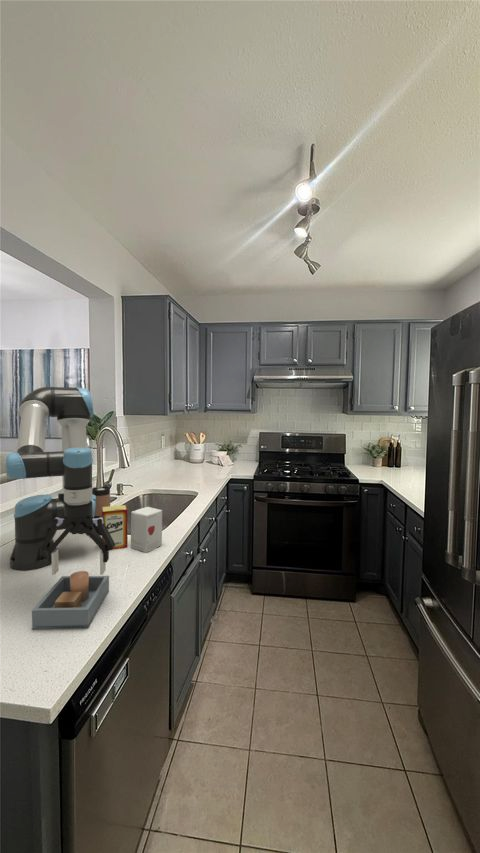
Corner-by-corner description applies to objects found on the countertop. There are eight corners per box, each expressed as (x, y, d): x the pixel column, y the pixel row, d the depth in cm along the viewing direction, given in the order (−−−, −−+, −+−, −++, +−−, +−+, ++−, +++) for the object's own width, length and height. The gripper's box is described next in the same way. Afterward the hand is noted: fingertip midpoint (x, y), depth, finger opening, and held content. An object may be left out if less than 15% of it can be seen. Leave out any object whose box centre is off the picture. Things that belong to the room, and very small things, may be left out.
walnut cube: (54, 620, 95) (54, 602, 94) (63, 609, 100) (63, 591, 99) (74, 620, 95) (73, 601, 94) (81, 609, 100) (81, 591, 99)
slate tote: (32, 629, 92) (31, 610, 92) (62, 592, 110) (62, 576, 109) (88, 628, 93) (87, 609, 93) (108, 591, 111) (108, 575, 110)
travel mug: (104, 536, 155) (103, 490, 153) (88, 534, 156) (87, 489, 155) (113, 530, 162) (113, 486, 161) (98, 528, 164) (98, 485, 162)
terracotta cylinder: (67, 603, 103) (67, 579, 102) (74, 593, 108) (74, 571, 107) (85, 602, 103) (85, 579, 102) (91, 593, 108) (91, 570, 107)
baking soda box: (102, 550, 140) (101, 510, 139) (101, 544, 146) (101, 506, 145) (127, 547, 144) (127, 508, 143) (126, 541, 150) (126, 504, 149)
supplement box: (146, 553, 139) (146, 515, 138) (130, 548, 143) (130, 511, 142) (162, 545, 146) (162, 509, 145) (147, 540, 151) (147, 506, 150)
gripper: (26, 505, 99) (28, 579, 101) (118, 505, 101) (119, 578, 102) (40, 497, 106) (41, 566, 108) (125, 498, 108) (125, 566, 110)
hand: (79, 572), depth 105 cm, fingers open, 13 cm apart
